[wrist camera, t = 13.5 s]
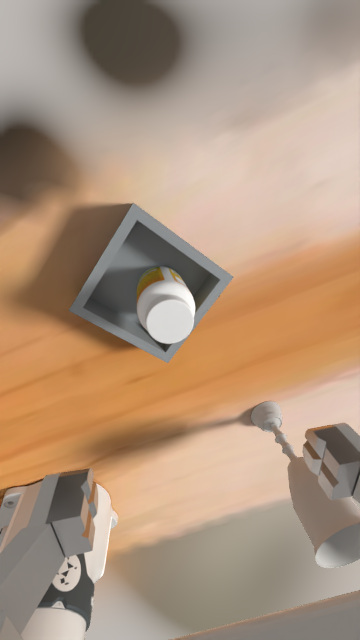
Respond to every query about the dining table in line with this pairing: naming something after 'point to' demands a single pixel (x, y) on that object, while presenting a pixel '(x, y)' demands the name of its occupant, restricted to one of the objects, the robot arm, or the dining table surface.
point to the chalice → (315, 501)
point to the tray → (125, 271)
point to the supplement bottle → (165, 305)
